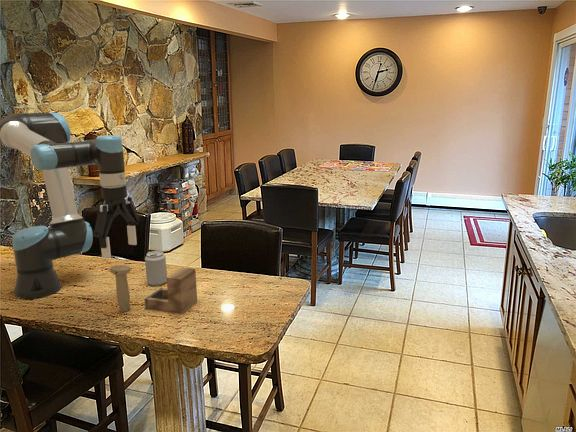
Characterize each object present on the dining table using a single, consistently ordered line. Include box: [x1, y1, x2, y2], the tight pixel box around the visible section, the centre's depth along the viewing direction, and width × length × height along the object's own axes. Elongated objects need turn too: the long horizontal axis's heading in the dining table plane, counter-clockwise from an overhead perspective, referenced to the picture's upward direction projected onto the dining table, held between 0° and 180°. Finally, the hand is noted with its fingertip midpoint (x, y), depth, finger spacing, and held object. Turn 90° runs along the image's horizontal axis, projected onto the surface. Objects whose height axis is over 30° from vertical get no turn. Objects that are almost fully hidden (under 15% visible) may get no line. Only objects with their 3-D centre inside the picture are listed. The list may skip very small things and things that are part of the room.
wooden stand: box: [144, 266, 198, 315], centre depth 158 cm, size 14×10×12 cm
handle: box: [109, 264, 132, 313], centre depth 154 cm, size 5×6×15 cm
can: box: [144, 250, 168, 287], centre depth 177 cm, size 8×8×12 cm
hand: (120, 250), depth 151 cm, fingers open, 13 cm apart
